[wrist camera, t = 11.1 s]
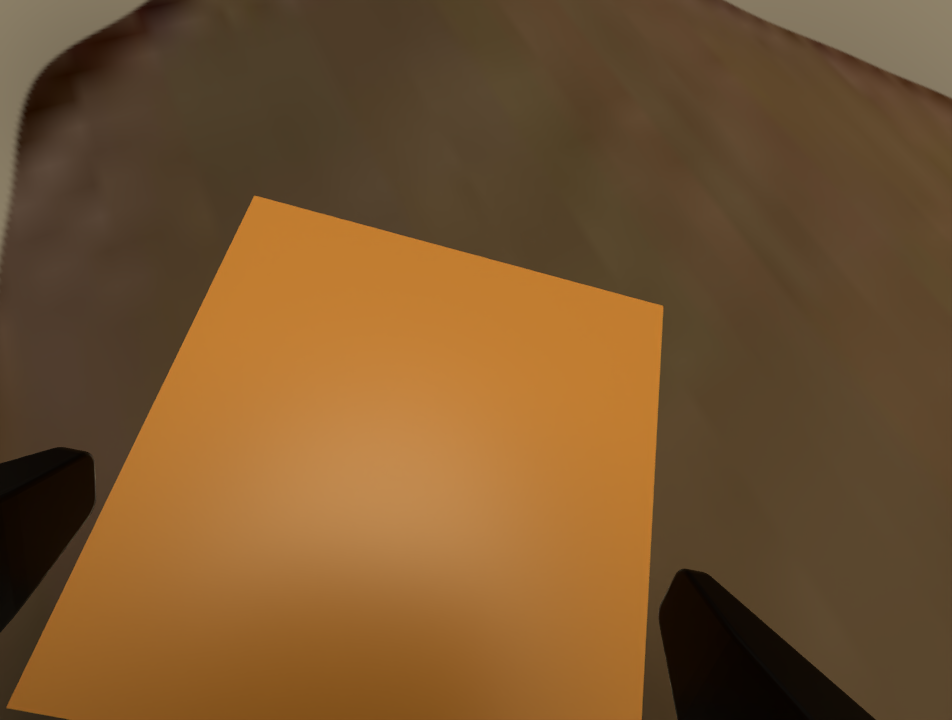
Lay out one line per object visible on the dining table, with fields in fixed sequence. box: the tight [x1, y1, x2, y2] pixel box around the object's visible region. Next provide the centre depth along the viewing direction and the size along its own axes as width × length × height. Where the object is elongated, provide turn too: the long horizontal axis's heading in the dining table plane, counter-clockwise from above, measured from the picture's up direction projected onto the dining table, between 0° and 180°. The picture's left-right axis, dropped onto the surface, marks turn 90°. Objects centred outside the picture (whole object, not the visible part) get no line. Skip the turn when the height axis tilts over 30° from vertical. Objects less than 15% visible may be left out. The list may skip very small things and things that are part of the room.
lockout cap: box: [6, 196, 663, 720], centre depth 11 cm, size 5×5×13 cm
